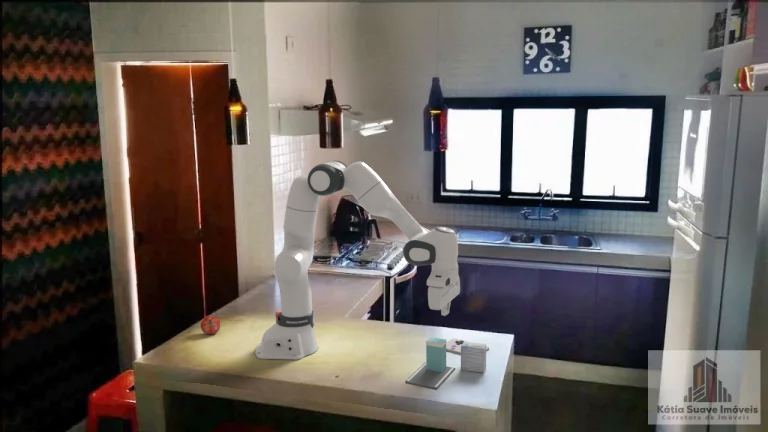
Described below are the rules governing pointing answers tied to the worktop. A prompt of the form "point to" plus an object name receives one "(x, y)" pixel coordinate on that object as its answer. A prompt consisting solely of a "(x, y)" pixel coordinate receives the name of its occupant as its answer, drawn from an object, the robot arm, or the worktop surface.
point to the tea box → (436, 354)
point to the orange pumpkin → (210, 325)
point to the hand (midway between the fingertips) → (445, 314)
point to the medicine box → (473, 357)
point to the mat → (429, 377)
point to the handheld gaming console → (456, 346)
